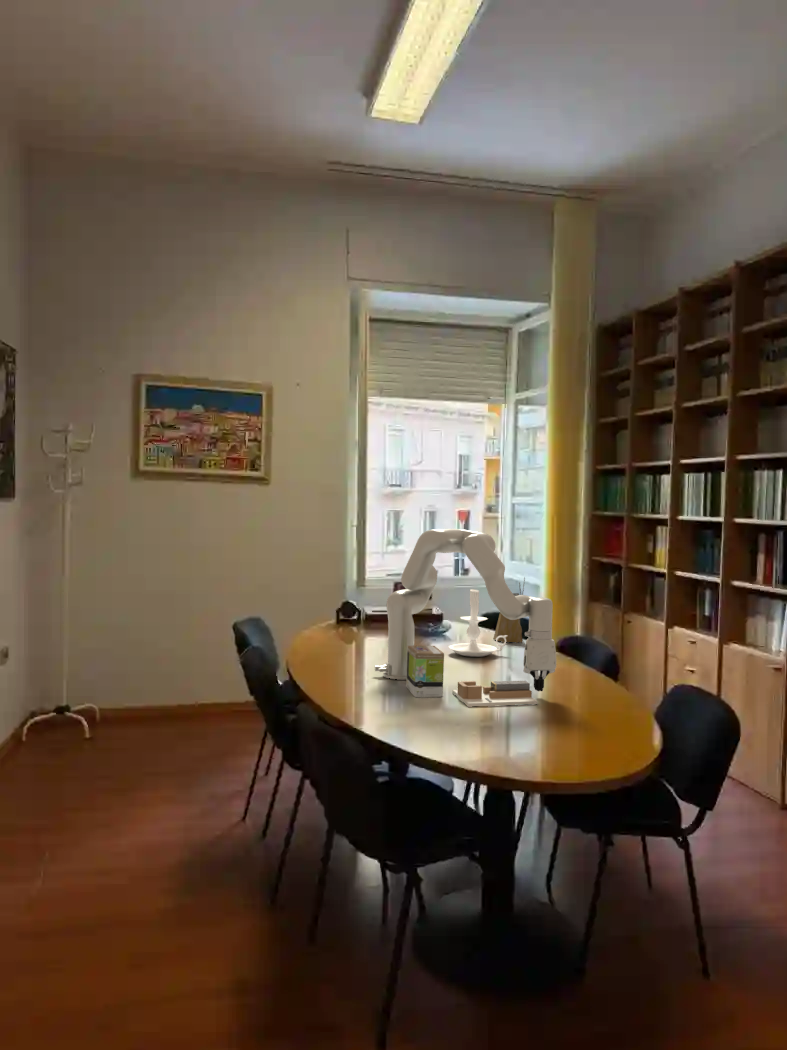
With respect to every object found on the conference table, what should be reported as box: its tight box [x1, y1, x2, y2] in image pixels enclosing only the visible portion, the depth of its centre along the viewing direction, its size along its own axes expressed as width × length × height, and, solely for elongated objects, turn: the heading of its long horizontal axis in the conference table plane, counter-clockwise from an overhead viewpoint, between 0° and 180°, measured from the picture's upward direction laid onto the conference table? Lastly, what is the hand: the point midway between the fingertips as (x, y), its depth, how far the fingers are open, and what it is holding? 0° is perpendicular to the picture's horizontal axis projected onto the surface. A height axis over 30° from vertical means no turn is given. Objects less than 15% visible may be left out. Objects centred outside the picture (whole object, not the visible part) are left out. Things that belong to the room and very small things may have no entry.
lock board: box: [452, 680, 538, 708], centre depth 265 cm, size 23×18×5 cm
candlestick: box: [448, 588, 507, 658], centre depth 338 cm, size 21×25×28 cm
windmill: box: [492, 576, 526, 644], centre depth 376 cm, size 21×14×30 cm, turn 164°
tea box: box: [406, 645, 445, 698], centre depth 272 cm, size 15×10×15 cm, turn 9°
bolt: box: [490, 680, 531, 691], centre depth 266 cm, size 12×4×4 cm, turn 102°
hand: (538, 690), depth 268 cm, fingers closed
